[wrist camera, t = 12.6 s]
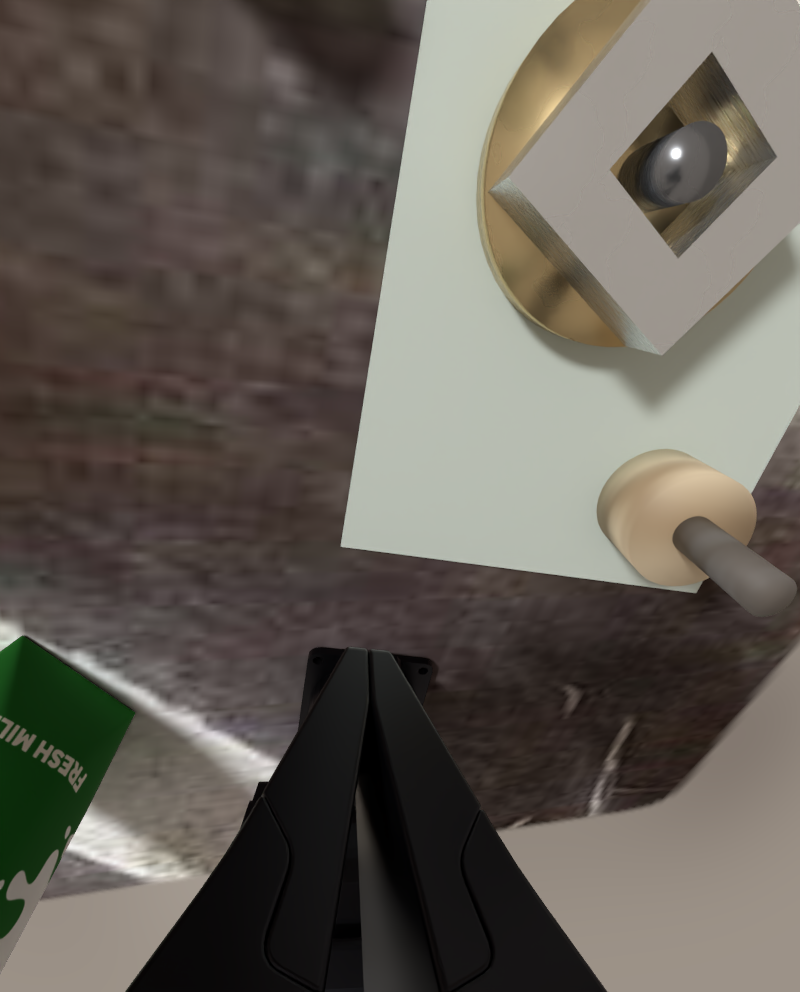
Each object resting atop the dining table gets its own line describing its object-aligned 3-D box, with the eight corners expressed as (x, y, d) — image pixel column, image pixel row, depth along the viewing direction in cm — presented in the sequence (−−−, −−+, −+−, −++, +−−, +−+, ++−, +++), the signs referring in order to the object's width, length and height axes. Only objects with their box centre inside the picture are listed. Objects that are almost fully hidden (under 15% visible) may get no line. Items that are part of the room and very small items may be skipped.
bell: (689, 363, 19) (764, 383, 15) (446, 314, 17) (465, 323, 14) (830, 38, 14) (978, -39, 11) (526, -58, 13) (583, -181, 10)
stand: (677, 554, 22) (797, 663, 16) (580, 541, 22) (666, 648, 16) (726, 458, 20) (885, 539, 14) (621, 440, 20) (739, 516, 13)
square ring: (624, 345, 17) (662, 355, 14) (488, 192, 14) (508, 176, 12) (800, 168, 15) (875, 149, 12) (673, -41, 12) (738, -110, 10)
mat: (691, 588, 24) (696, 593, 24) (341, 542, 22) (340, 546, 21) (972, 69, 15) (986, 65, 15) (442, -100, 13) (444, -112, 13)
